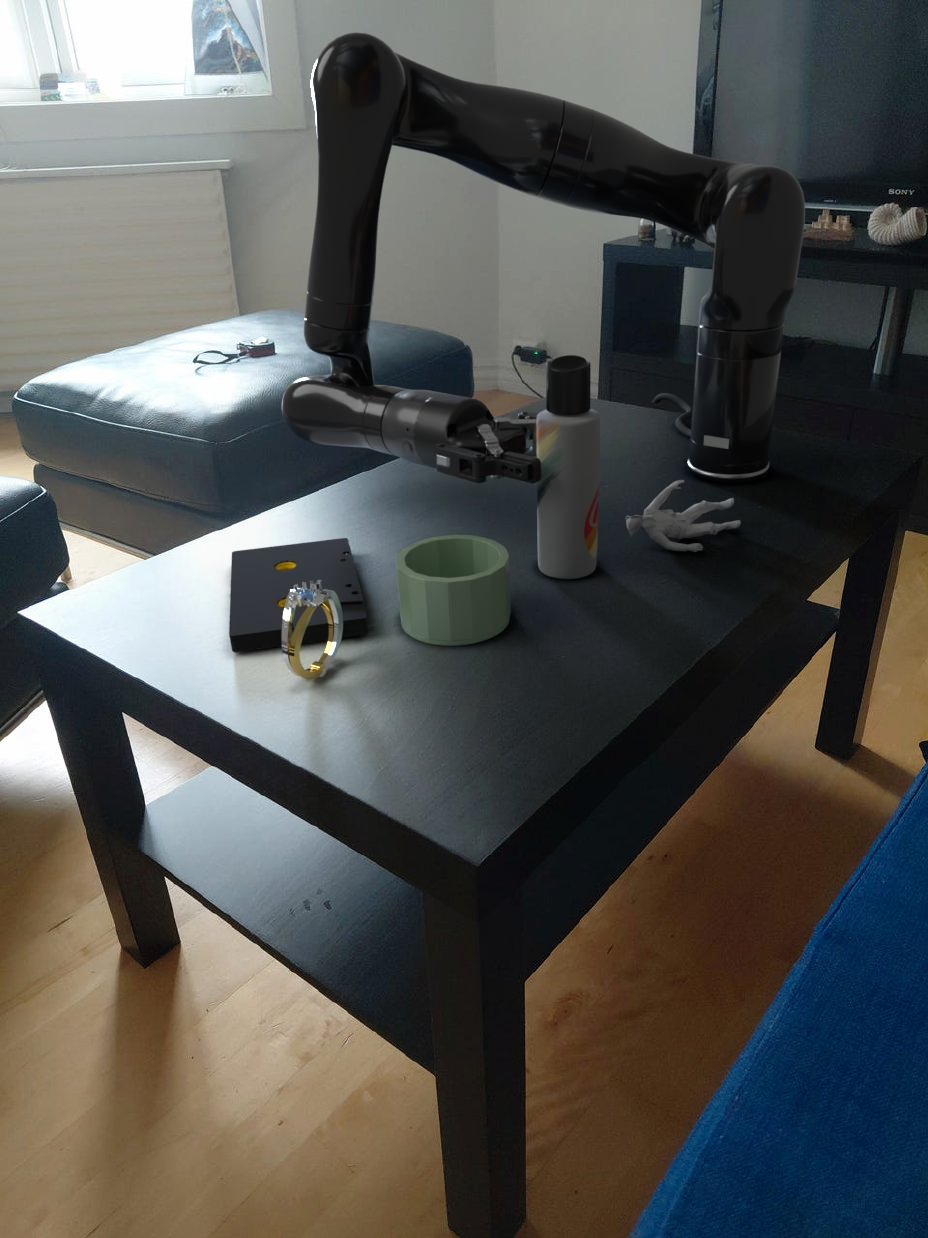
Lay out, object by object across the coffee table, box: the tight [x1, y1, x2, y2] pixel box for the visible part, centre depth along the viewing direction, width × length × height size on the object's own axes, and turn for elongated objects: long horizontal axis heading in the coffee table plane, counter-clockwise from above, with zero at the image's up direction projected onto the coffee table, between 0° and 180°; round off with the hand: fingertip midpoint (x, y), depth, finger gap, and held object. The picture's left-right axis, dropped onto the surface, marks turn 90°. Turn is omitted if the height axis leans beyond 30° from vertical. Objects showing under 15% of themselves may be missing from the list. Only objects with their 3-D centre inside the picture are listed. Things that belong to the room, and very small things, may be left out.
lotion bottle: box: [536, 354, 601, 580], centre depth 87 cm, size 6×6×20 cm
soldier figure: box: [624, 479, 742, 553], centre depth 95 cm, size 8×5×12 cm
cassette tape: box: [228, 537, 369, 653], centre depth 87 cm, size 18×12×2 cm, turn 12°
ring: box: [281, 580, 343, 680], centre depth 74 cm, size 7×3×8 cm, turn 151°
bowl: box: [394, 533, 512, 647], centre depth 82 cm, size 10×10×6 cm
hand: (567, 458), depth 86 cm, fingers open, 8 cm apart
